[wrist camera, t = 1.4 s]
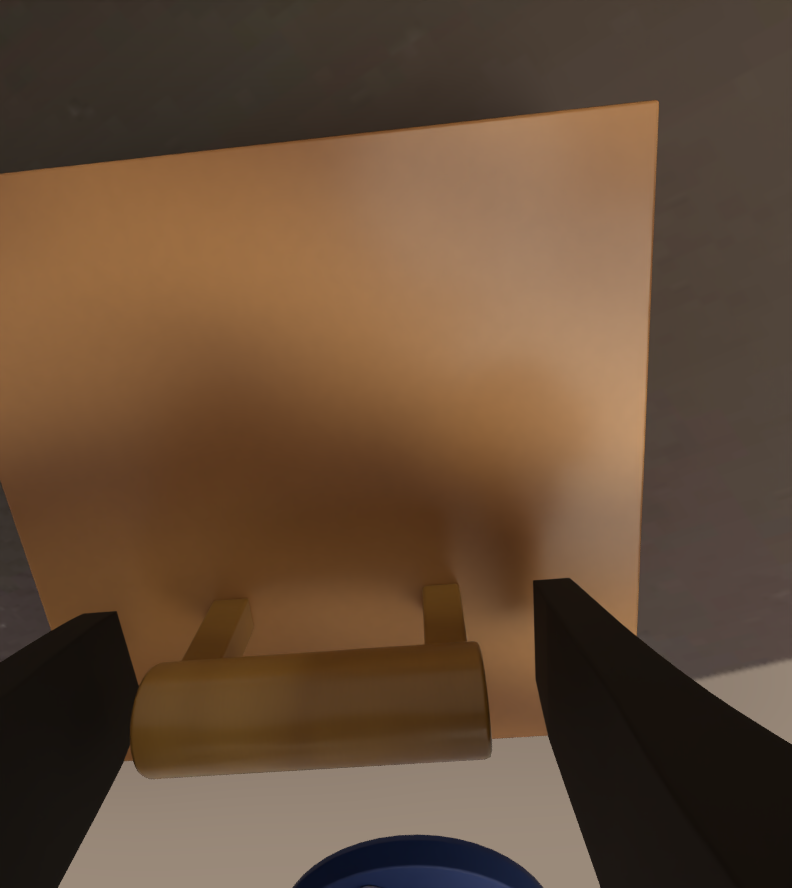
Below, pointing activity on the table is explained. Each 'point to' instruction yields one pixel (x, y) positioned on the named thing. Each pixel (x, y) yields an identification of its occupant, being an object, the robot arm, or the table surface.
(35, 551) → the brown piece
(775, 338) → the table surface
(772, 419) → the table surface
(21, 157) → the table surface
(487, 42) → the table surface
